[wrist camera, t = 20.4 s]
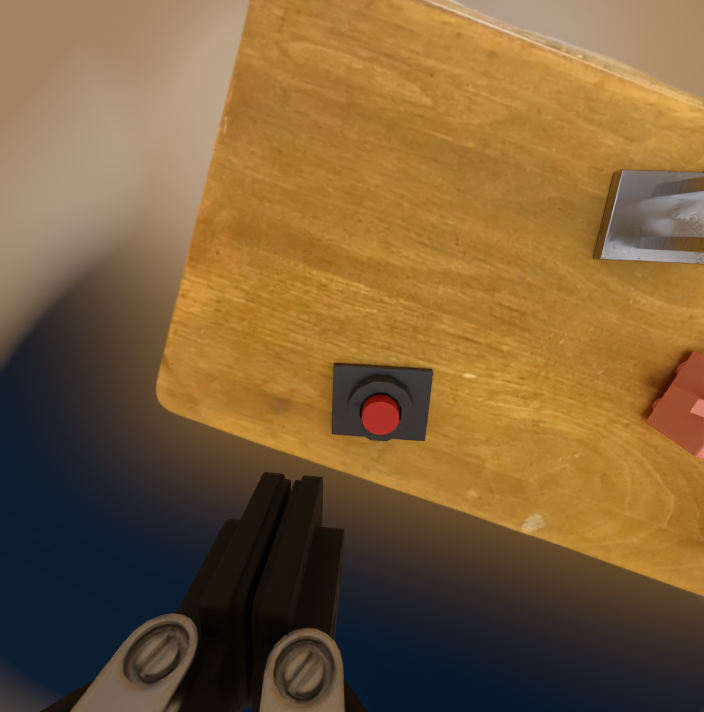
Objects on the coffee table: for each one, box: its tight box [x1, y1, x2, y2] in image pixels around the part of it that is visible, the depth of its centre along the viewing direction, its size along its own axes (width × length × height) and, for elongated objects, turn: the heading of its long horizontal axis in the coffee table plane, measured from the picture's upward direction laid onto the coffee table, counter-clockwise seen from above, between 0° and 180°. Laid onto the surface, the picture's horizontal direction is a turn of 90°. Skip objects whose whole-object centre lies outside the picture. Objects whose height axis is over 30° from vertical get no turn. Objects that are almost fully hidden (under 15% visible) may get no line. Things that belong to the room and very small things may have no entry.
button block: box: [332, 363, 433, 441], centre depth 38 cm, size 10×8×2 cm
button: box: [362, 394, 399, 435], centre depth 36 cm, size 4×4×2 cm
